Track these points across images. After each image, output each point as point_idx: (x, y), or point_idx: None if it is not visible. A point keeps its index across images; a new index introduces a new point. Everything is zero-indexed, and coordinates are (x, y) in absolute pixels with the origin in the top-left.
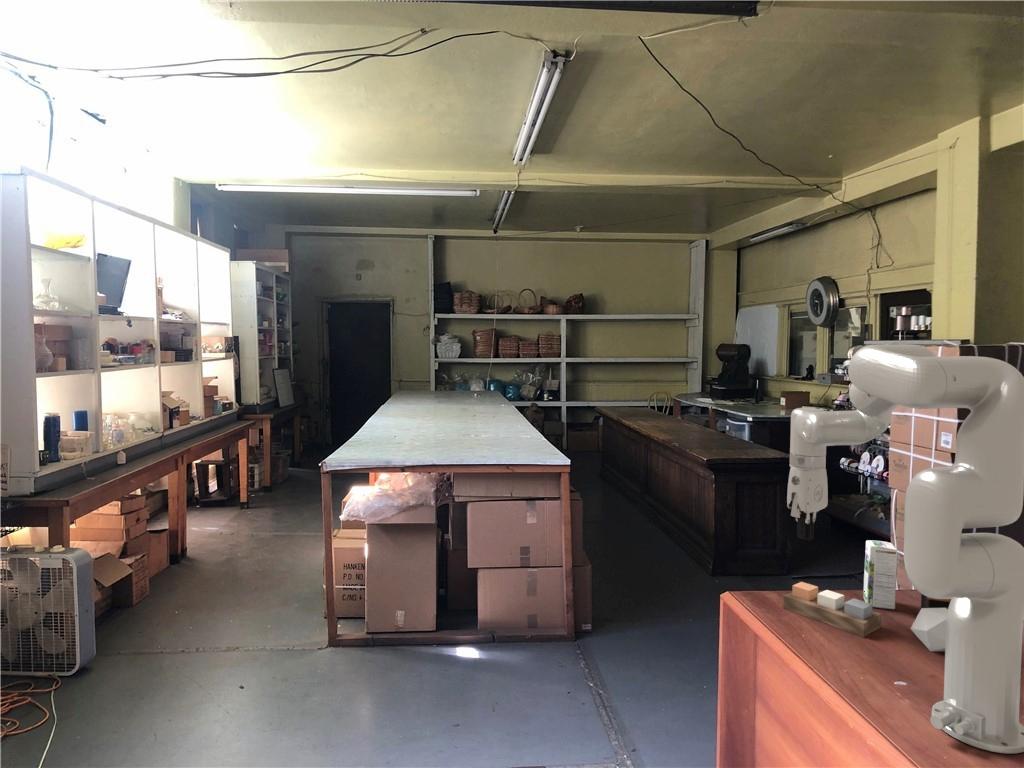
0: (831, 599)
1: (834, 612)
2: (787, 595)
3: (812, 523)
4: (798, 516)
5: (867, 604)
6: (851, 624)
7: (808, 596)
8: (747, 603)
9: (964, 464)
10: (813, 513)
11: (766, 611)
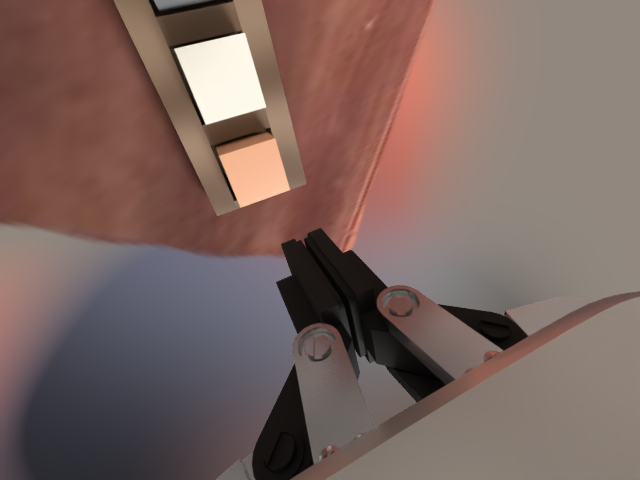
0: (248, 51)
1: (259, 18)
2: (296, 181)
3: (338, 305)
4: (542, 311)
5: None
6: None
7: (271, 135)
8: (346, 215)
9: None
10: (361, 397)
11: (342, 170)
